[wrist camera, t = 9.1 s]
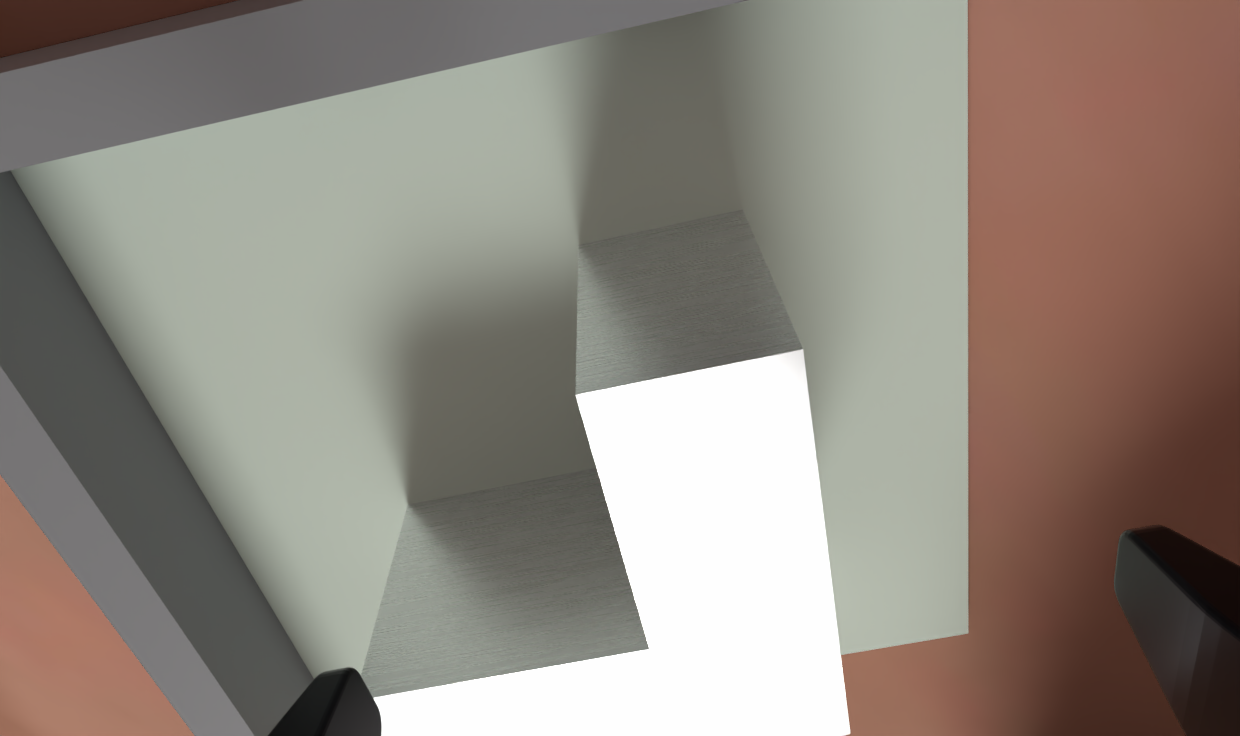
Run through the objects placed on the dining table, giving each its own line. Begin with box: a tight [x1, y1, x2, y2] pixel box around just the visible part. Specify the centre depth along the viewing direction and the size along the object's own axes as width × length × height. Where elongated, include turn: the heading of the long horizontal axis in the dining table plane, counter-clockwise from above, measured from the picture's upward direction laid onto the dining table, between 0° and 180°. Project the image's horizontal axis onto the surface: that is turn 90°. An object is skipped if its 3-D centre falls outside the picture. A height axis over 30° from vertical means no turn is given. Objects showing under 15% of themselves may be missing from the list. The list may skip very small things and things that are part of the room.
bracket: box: [361, 210, 850, 736], centre depth 16 cm, size 8×8×5 cm
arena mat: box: [10, 0, 968, 679], centre depth 18 cm, size 16×16×1 cm
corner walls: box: [0, 0, 747, 736], centre depth 17 cm, size 18×17×3 cm
